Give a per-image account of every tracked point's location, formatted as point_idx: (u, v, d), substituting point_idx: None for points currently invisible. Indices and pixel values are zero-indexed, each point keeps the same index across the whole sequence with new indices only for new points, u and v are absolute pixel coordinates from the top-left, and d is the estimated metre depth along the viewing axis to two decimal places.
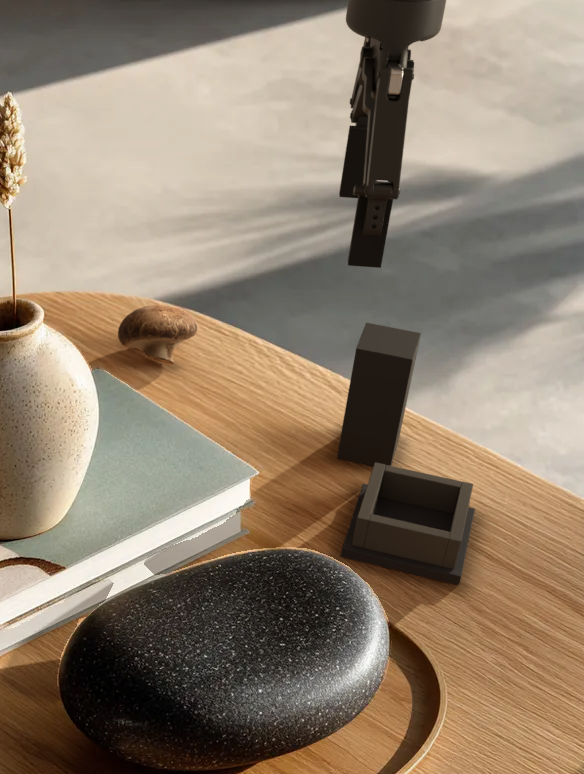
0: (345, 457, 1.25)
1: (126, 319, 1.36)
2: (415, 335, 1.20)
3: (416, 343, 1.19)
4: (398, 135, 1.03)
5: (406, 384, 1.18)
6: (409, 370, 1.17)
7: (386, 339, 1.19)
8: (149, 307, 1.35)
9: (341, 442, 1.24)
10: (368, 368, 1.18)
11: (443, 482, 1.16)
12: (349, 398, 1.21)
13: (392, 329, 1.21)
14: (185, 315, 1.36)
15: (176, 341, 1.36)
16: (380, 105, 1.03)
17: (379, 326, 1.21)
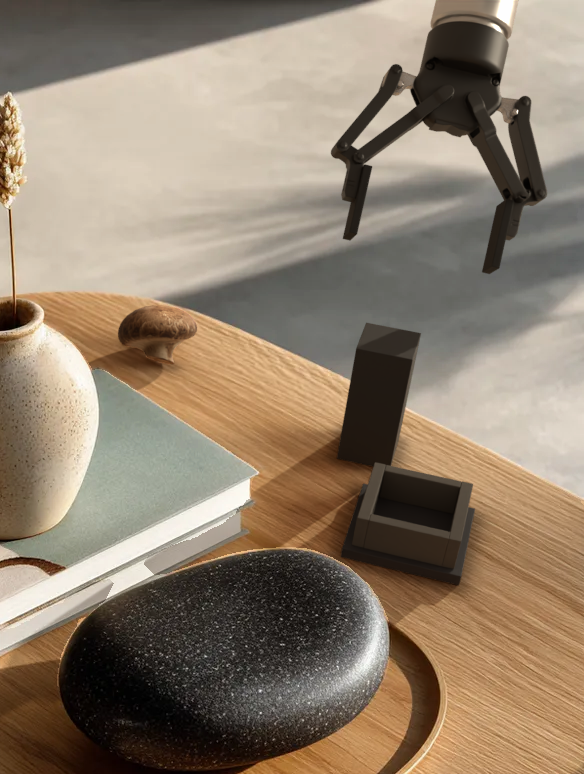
0: (345, 457, 1.25)
1: (126, 319, 1.36)
2: (415, 335, 1.20)
3: (416, 343, 1.19)
4: None
5: (406, 384, 1.18)
6: (409, 370, 1.17)
7: (386, 339, 1.19)
8: (149, 307, 1.35)
9: (341, 442, 1.24)
10: (368, 368, 1.18)
11: (443, 482, 1.16)
12: (349, 398, 1.21)
13: (392, 329, 1.21)
14: (185, 315, 1.36)
15: (176, 341, 1.36)
16: None
17: (379, 326, 1.21)
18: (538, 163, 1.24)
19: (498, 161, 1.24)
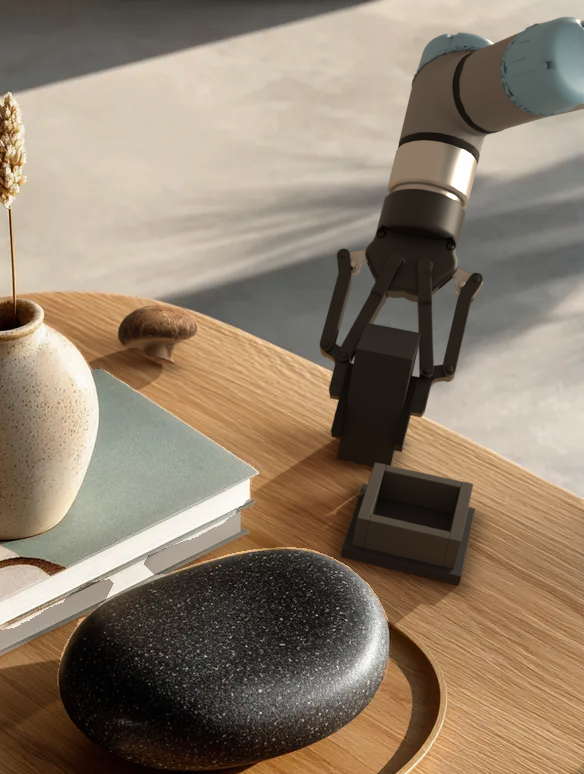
0: (345, 457, 1.25)
1: (126, 319, 1.36)
2: (415, 335, 1.20)
3: (416, 343, 1.19)
4: (331, 301, 1.23)
5: (406, 384, 1.18)
6: (409, 370, 1.17)
7: (386, 339, 1.19)
8: (149, 307, 1.35)
9: (341, 442, 1.24)
10: (368, 368, 1.18)
11: (443, 482, 1.16)
12: (349, 398, 1.21)
13: (392, 329, 1.21)
14: (185, 315, 1.36)
15: (176, 341, 1.36)
16: None
17: (379, 326, 1.21)
18: (460, 340, 1.20)
19: (421, 332, 1.21)
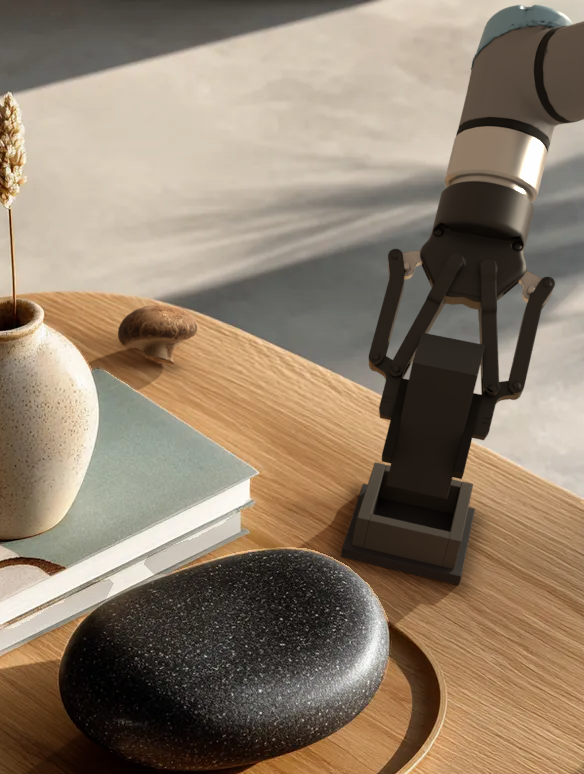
0: (396, 484, 1.10)
1: (126, 319, 1.36)
2: (478, 347, 1.06)
3: (480, 356, 1.05)
4: None
5: (469, 403, 1.04)
6: (473, 387, 1.03)
7: (446, 352, 1.05)
8: (149, 307, 1.35)
9: (392, 467, 1.10)
10: (425, 385, 1.04)
11: None
12: (403, 418, 1.07)
13: (452, 340, 1.06)
14: (185, 315, 1.36)
15: (176, 341, 1.36)
16: None
17: (437, 337, 1.07)
18: (529, 353, 1.06)
19: (484, 343, 1.06)
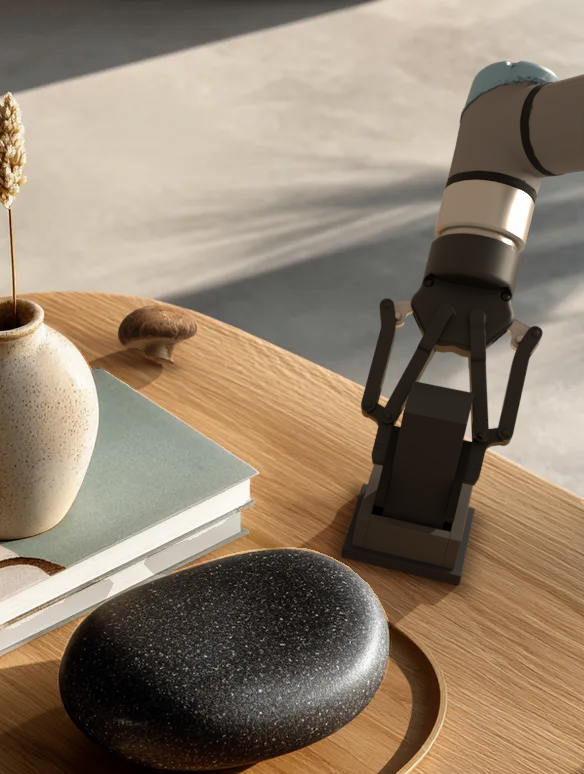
0: None
1: (126, 319, 1.36)
2: (467, 396, 1.08)
3: (469, 405, 1.07)
4: None
5: (459, 451, 1.07)
6: (463, 436, 1.06)
7: (437, 400, 1.08)
8: (149, 307, 1.35)
9: (385, 512, 1.12)
10: (416, 433, 1.07)
11: None
12: (395, 465, 1.09)
13: (442, 389, 1.09)
14: (185, 315, 1.36)
15: (176, 341, 1.36)
16: None
17: (427, 385, 1.09)
18: (517, 401, 1.08)
19: (474, 391, 1.09)
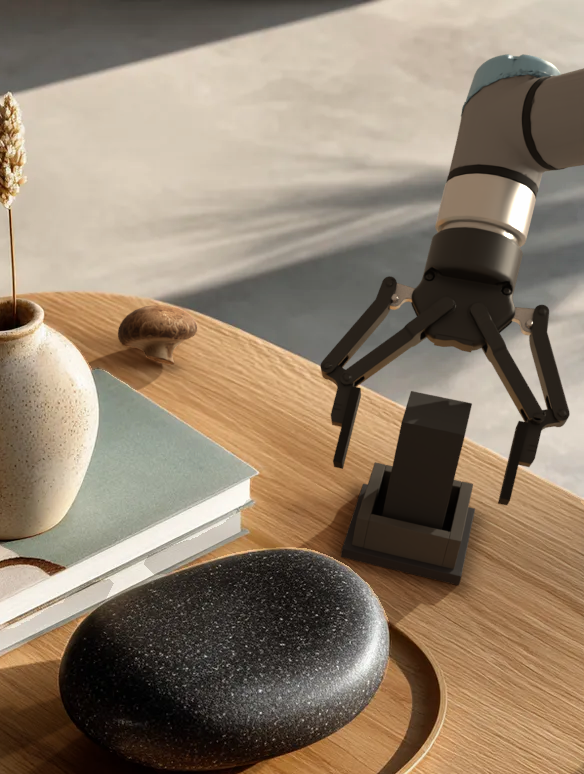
0: None
1: (126, 319, 1.36)
2: (465, 406, 1.09)
3: (467, 415, 1.08)
4: None
5: (457, 461, 1.07)
6: (460, 446, 1.06)
7: (435, 411, 1.08)
8: (149, 307, 1.35)
9: None
10: (414, 443, 1.08)
11: None
12: (393, 474, 1.10)
13: (440, 399, 1.10)
14: (185, 315, 1.36)
15: (176, 341, 1.36)
16: None
17: (426, 395, 1.10)
18: (558, 379, 1.07)
19: (509, 379, 1.08)
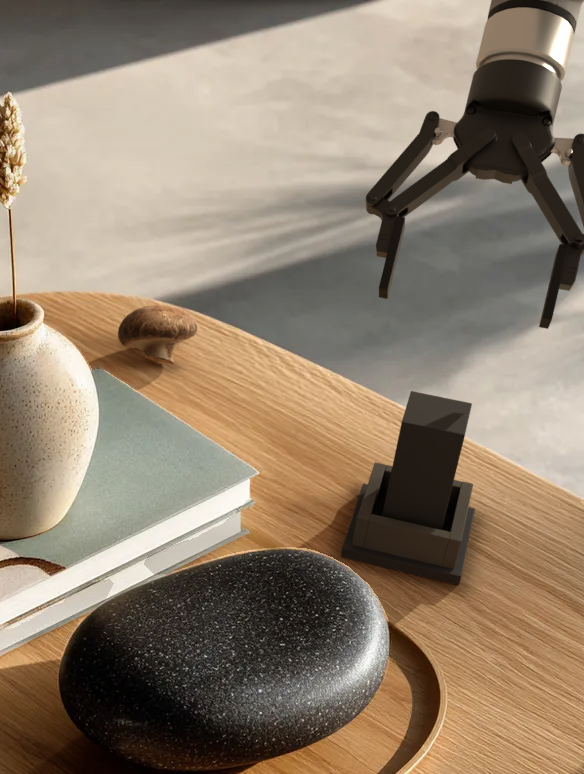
0: None
1: (126, 319, 1.36)
2: (465, 406, 1.09)
3: (467, 415, 1.08)
4: None
5: (457, 461, 1.07)
6: (460, 446, 1.06)
7: (435, 411, 1.08)
8: (149, 307, 1.35)
9: None
10: (414, 443, 1.08)
11: None
12: (393, 474, 1.10)
13: (440, 399, 1.10)
14: (185, 315, 1.36)
15: (176, 341, 1.36)
16: None
17: (426, 395, 1.10)
18: None
19: (550, 205, 1.12)
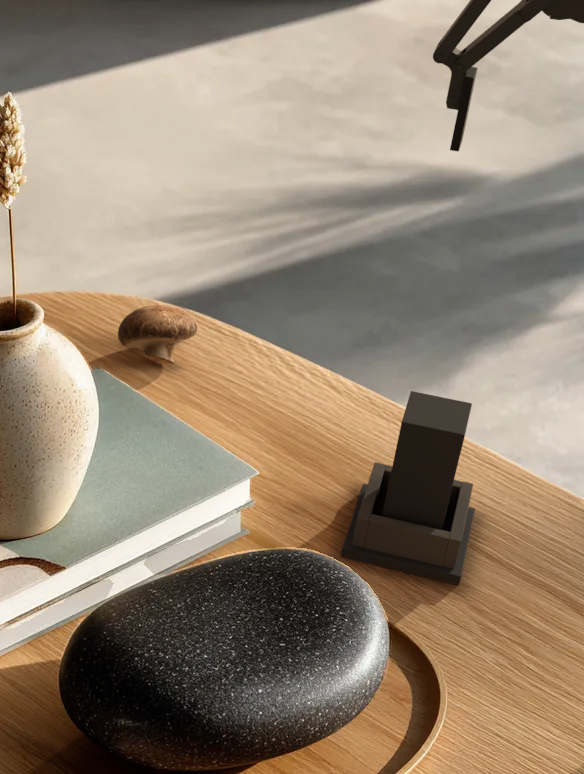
0: None
1: (126, 319, 1.36)
2: (465, 406, 1.09)
3: (467, 415, 1.08)
4: (466, 8, 1.10)
5: (457, 461, 1.07)
6: (460, 446, 1.06)
7: (435, 411, 1.08)
8: (149, 307, 1.35)
9: None
10: (414, 443, 1.08)
11: None
12: (393, 474, 1.10)
13: (440, 399, 1.10)
14: (185, 315, 1.36)
15: (176, 341, 1.36)
16: None
17: (426, 395, 1.10)
18: None
19: None
